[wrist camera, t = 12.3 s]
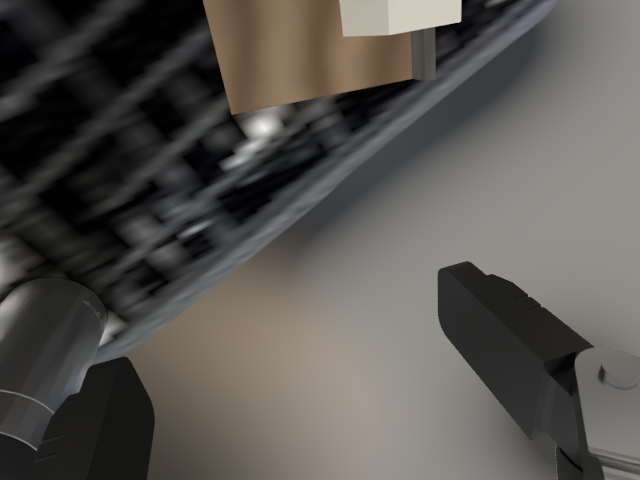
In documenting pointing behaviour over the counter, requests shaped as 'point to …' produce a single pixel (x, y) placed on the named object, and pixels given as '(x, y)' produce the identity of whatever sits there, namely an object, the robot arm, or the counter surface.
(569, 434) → the robot arm
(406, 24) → the carton
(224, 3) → the shelf plank
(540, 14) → the counter surface
